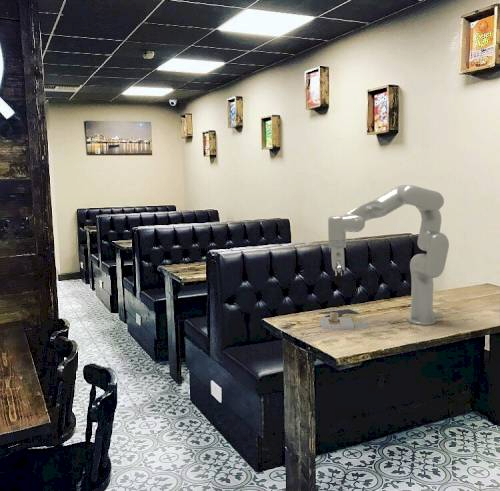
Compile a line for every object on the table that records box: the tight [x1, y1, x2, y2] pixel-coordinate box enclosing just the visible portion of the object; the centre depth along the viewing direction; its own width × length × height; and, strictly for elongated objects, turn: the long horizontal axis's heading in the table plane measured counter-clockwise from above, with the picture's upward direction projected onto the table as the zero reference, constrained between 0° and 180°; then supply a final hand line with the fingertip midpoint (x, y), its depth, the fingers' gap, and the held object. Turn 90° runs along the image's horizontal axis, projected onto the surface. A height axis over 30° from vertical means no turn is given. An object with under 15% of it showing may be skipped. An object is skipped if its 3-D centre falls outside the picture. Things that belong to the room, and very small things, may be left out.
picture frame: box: [313, 307, 364, 317], centre depth 246 cm, size 16×3×21 cm
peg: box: [329, 312, 338, 322], centre depth 226 cm, size 4×4×7 cm
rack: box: [319, 316, 370, 330], centre depth 226 cm, size 21×12×4 cm, turn 85°
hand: (337, 282), depth 225 cm, fingers open, 9 cm apart
